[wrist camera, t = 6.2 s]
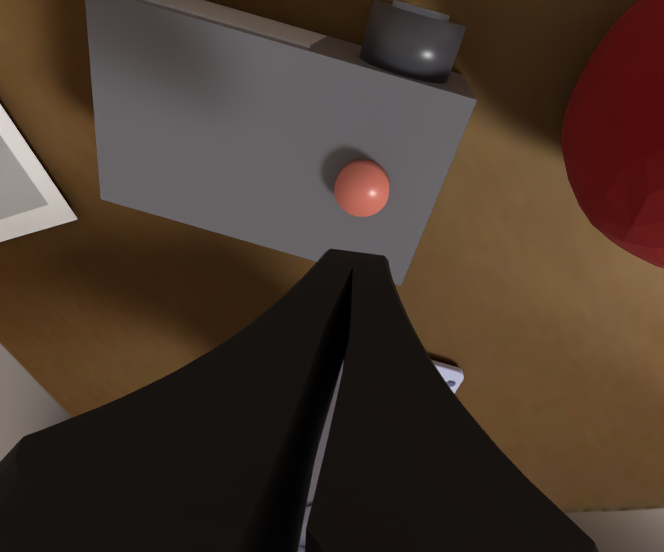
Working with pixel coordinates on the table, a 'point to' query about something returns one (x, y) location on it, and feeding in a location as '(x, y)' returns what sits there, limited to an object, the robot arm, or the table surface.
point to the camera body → (278, 123)
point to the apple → (622, 133)
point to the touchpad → (26, 188)
